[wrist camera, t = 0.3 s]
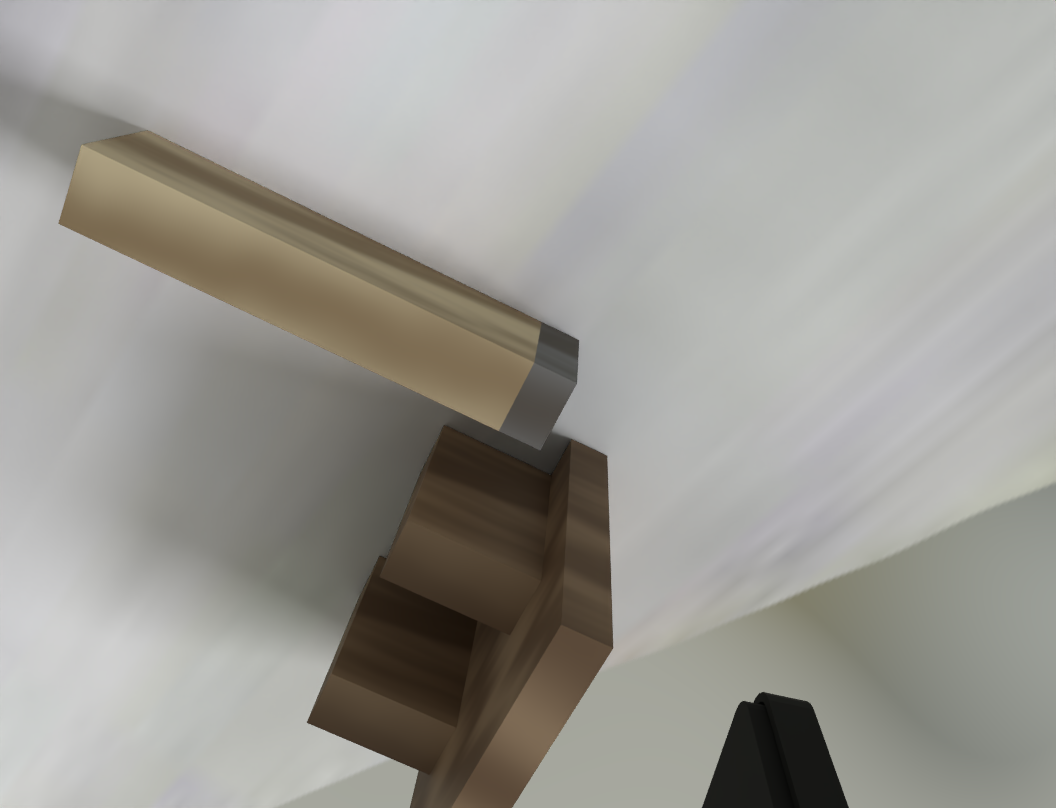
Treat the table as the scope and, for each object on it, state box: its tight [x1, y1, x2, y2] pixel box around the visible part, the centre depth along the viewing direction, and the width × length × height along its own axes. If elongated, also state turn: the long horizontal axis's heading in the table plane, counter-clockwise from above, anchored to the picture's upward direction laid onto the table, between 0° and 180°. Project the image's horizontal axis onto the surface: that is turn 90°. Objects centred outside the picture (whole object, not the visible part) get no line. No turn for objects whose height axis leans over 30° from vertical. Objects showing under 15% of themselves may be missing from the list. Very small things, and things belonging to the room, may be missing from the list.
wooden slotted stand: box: [307, 425, 613, 808], centre depth 42 cm, size 16×8×16 cm, turn 154°
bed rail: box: [59, 130, 579, 450], centre depth 42 cm, size 4×22×6 cm, turn 64°
